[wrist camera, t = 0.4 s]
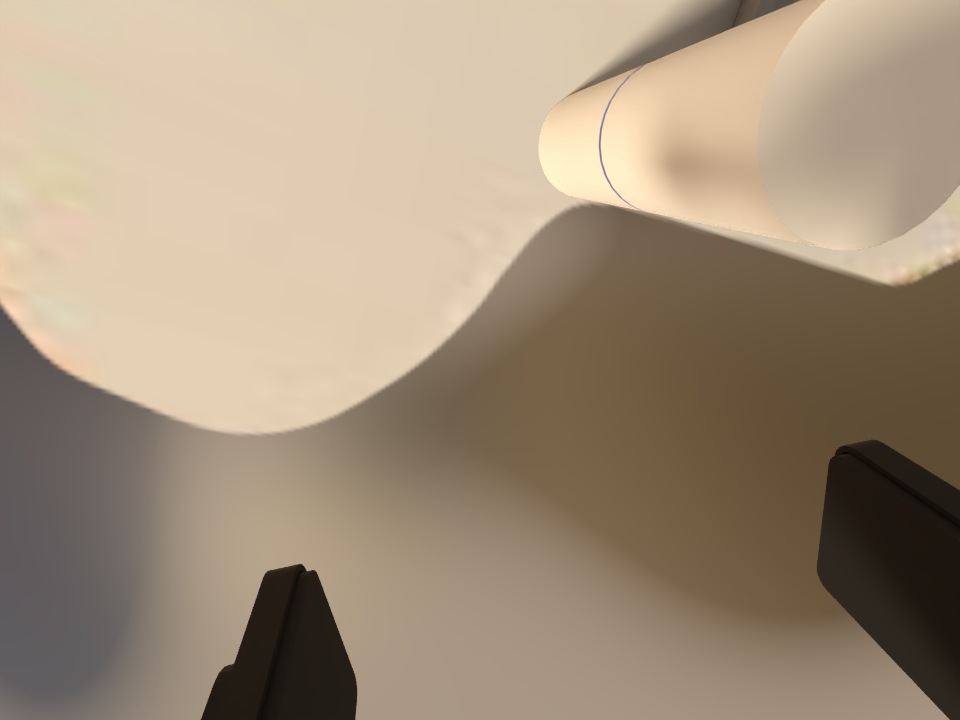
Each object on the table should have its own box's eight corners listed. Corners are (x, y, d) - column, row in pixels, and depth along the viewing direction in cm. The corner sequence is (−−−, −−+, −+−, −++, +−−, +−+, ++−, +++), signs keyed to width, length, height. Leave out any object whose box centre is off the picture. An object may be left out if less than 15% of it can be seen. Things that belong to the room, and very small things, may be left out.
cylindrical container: (557, 75, 36) (838, -86, 13) (650, 109, 37) (1051, 22, 14) (525, 181, 38) (714, 212, 15) (614, 209, 40) (911, 277, 16)
